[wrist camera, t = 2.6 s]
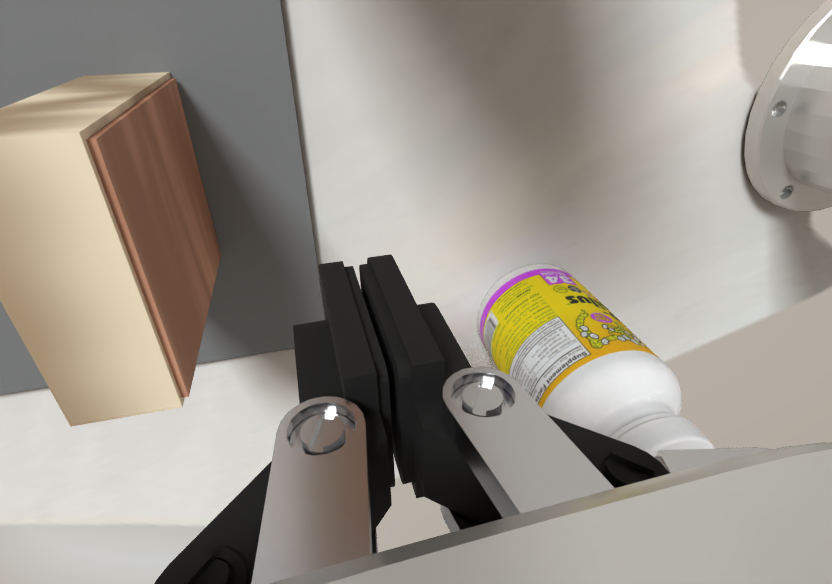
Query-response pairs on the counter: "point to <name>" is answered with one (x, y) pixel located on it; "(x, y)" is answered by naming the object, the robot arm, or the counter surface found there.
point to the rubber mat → (194, 146)
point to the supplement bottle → (582, 361)
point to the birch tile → (106, 243)
